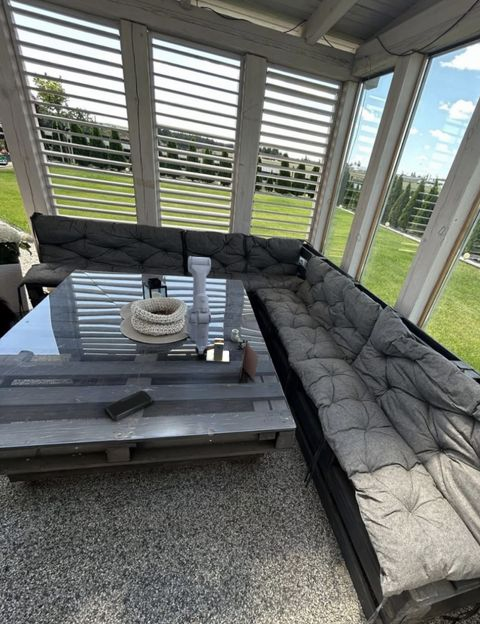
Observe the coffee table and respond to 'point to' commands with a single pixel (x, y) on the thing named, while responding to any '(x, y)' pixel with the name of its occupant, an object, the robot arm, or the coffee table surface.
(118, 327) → the coffee table surface
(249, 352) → the greeting card
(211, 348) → the lever
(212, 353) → the tap bracket
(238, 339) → the valve
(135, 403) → the phone
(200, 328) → the robot arm
